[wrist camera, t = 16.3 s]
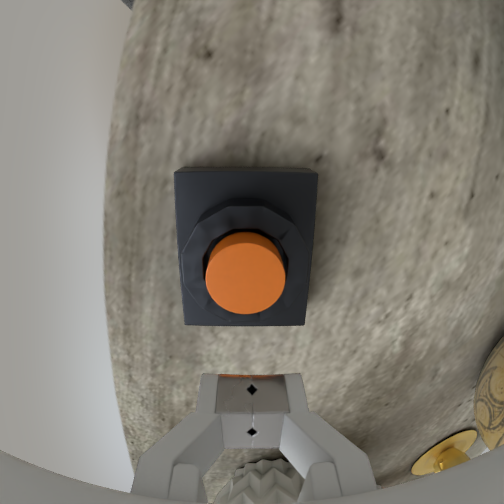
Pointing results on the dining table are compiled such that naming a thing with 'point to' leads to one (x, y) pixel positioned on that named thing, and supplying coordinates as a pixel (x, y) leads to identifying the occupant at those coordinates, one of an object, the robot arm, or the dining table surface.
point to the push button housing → (245, 220)
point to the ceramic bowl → (491, 398)
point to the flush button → (245, 273)
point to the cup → (445, 454)
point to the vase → (263, 484)
